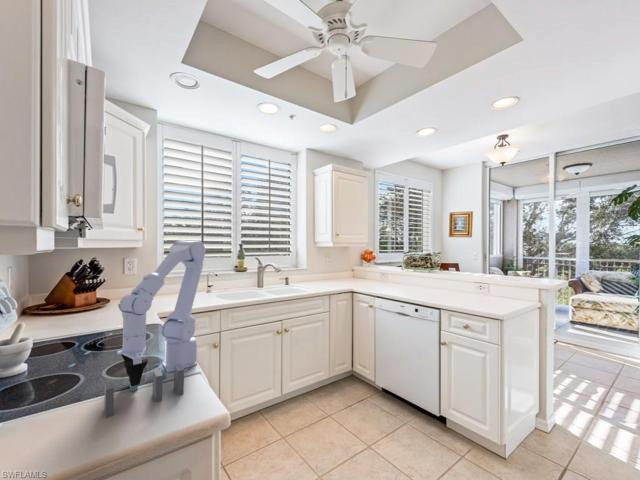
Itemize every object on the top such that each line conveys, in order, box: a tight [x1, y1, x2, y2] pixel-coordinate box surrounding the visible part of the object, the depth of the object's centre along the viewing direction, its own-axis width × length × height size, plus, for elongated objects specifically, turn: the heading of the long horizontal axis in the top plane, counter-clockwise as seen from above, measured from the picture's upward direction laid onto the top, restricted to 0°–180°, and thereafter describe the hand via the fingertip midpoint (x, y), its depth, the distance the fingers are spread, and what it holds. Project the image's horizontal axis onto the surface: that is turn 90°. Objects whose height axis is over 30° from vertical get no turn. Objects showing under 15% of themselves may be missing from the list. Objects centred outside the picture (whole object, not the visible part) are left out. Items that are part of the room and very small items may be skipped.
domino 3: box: [152, 368, 164, 403], centre depth 80 cm, size 2×4×7 cm, turn 40°
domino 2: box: [128, 379, 139, 392], centre depth 85 cm, size 2×4×7 cm, turn 40°
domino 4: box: [173, 364, 185, 396], centre depth 83 cm, size 2×4×7 cm, turn 40°
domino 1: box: [103, 380, 115, 418], centre depth 73 cm, size 2×4×7 cm, turn 40°
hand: (133, 379), depth 85 cm, fingers open, 7 cm apart
